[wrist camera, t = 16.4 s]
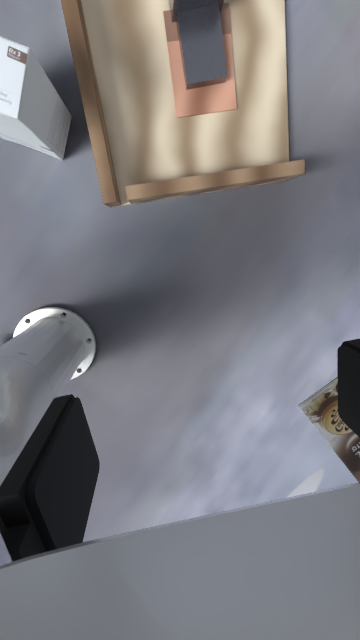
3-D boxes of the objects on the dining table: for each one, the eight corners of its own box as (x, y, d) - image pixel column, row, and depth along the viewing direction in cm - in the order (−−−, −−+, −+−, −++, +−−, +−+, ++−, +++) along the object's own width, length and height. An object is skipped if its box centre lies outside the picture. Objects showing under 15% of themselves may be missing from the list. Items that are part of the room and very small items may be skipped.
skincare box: (2, 139, 38) (-91, 83, 24) (10, 87, 36) (-85, -6, 22) (67, 162, 39) (16, 122, 25) (76, 113, 37) (28, 41, 23)
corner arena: (110, 207, 41) (103, 203, 36) (61, -30, 33) (43, -80, 28) (287, 180, 42) (306, 172, 36) (279, -57, 34) (302, -112, 29)
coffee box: (337, 375, 52) (412, 435, 37) (353, 398, 54) (432, 464, 39) (296, 405, 53) (352, 475, 38) (314, 426, 55) (374, 501, 40)
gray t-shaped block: (168, 1, 34) (171, -46, 28) (218, -8, 34) (230, -56, 28) (182, 90, 37) (187, 64, 31) (228, 82, 37) (241, 54, 31)
